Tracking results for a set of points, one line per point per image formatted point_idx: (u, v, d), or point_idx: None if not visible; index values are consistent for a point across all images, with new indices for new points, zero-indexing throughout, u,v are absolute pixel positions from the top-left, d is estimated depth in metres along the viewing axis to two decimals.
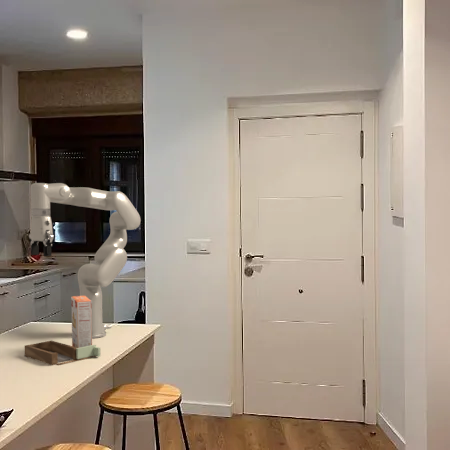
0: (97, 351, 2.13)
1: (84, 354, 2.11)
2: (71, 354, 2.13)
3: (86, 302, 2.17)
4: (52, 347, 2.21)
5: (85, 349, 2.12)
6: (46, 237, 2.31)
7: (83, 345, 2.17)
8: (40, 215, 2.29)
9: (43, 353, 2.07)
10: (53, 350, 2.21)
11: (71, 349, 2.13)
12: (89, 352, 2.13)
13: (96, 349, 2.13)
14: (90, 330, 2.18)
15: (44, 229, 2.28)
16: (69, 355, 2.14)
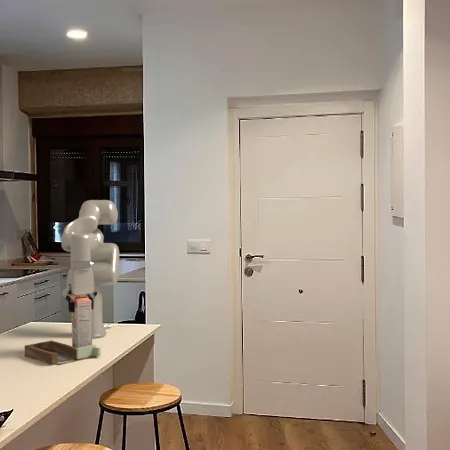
0: (97, 351, 2.13)
1: (84, 354, 2.11)
2: (71, 354, 2.13)
3: (86, 302, 2.17)
4: (52, 347, 2.21)
5: (85, 349, 2.12)
6: None
7: (83, 345, 2.17)
8: (90, 267, 2.23)
9: (43, 353, 2.07)
10: (53, 350, 2.21)
11: (71, 349, 2.13)
12: (89, 352, 2.13)
13: (96, 349, 2.13)
14: (90, 330, 2.17)
15: None
16: (69, 355, 2.14)
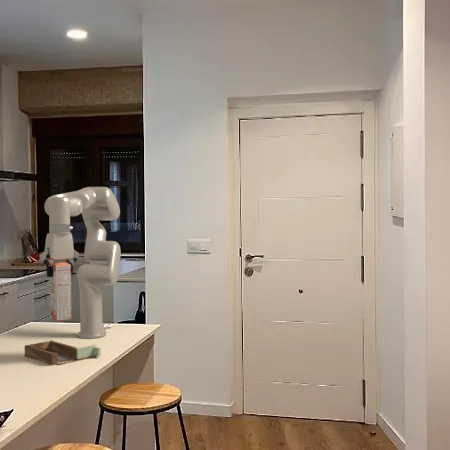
0: (97, 351, 2.13)
1: (84, 354, 2.11)
2: (71, 354, 2.13)
3: (65, 266, 2.10)
4: (52, 347, 2.21)
5: (85, 349, 2.12)
6: None
7: (62, 310, 2.09)
8: None
9: (43, 353, 2.07)
10: (53, 350, 2.21)
11: (71, 349, 2.13)
12: (89, 352, 2.13)
13: (96, 349, 2.13)
14: (69, 295, 2.10)
15: None
16: (69, 355, 2.14)
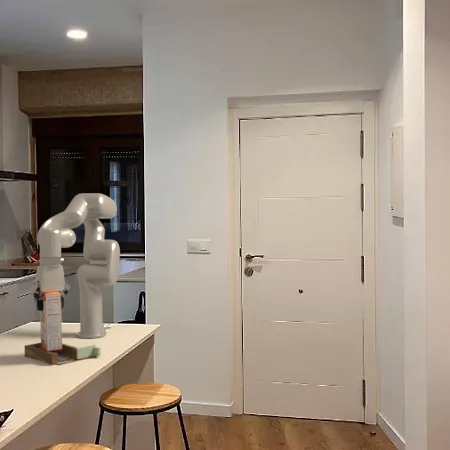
0: (97, 351, 2.13)
1: (84, 354, 2.11)
2: (71, 354, 2.13)
3: (55, 295, 2.07)
4: None
5: (85, 349, 2.12)
6: None
7: (52, 340, 2.07)
8: (60, 263, 2.14)
9: (43, 353, 2.07)
10: None
11: (71, 349, 2.13)
12: (89, 352, 2.13)
13: (96, 349, 2.13)
14: (60, 324, 2.08)
15: None
16: (69, 355, 2.14)
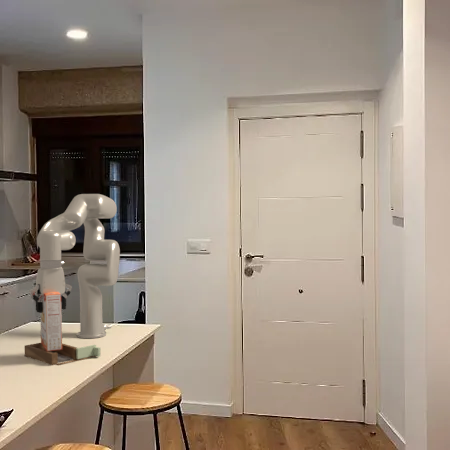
0: (97, 351, 2.13)
1: (84, 354, 2.11)
2: (71, 354, 2.13)
3: (55, 295, 2.07)
4: None
5: (85, 349, 2.12)
6: None
7: (52, 340, 2.07)
8: (61, 266, 2.14)
9: (43, 353, 2.07)
10: None
11: (71, 349, 2.13)
12: (89, 352, 2.13)
13: (96, 349, 2.13)
14: (60, 325, 2.08)
15: None
16: (69, 355, 2.14)
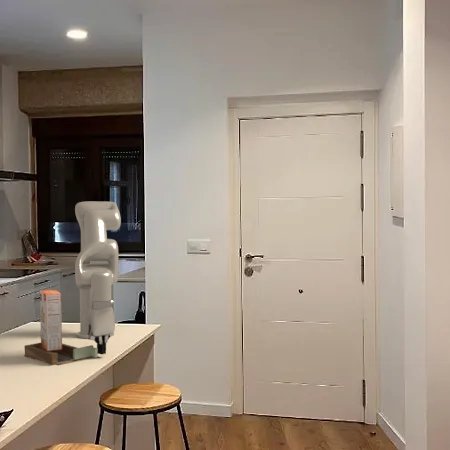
0: (94, 352, 2.12)
1: (81, 355, 2.10)
2: (71, 354, 2.13)
3: (55, 295, 2.07)
4: None
5: (82, 349, 2.11)
6: None
7: (52, 340, 2.07)
8: None
9: (43, 353, 2.07)
10: None
11: (71, 349, 2.13)
12: (86, 353, 2.12)
13: (93, 350, 2.12)
14: (60, 325, 2.08)
15: None
16: (69, 355, 2.14)
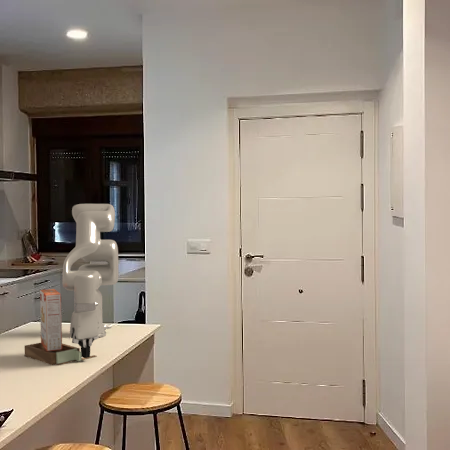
0: (78, 355, 2.07)
1: (64, 359, 2.05)
2: None
3: (55, 295, 2.07)
4: None
5: (65, 353, 2.05)
6: None
7: (52, 340, 2.07)
8: (95, 308, 2.09)
9: (43, 353, 2.07)
10: None
11: None
12: (70, 356, 2.07)
13: (77, 353, 2.07)
14: (60, 325, 2.08)
15: None
16: None
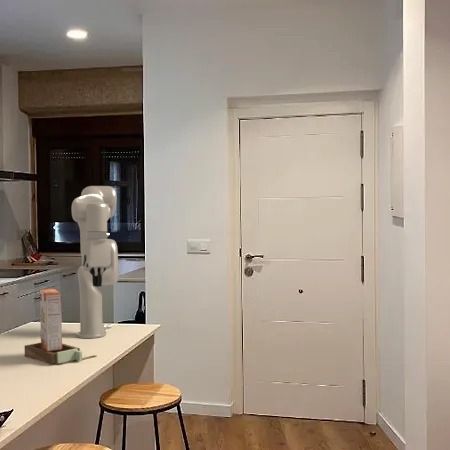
0: (78, 355, 2.07)
1: (65, 359, 2.05)
2: None
3: (55, 295, 2.07)
4: None
5: (66, 353, 2.06)
6: None
7: (52, 340, 2.07)
8: None
9: (43, 353, 2.07)
10: None
11: None
12: (70, 356, 2.07)
13: (77, 353, 2.07)
14: (60, 325, 2.08)
15: None
16: None
